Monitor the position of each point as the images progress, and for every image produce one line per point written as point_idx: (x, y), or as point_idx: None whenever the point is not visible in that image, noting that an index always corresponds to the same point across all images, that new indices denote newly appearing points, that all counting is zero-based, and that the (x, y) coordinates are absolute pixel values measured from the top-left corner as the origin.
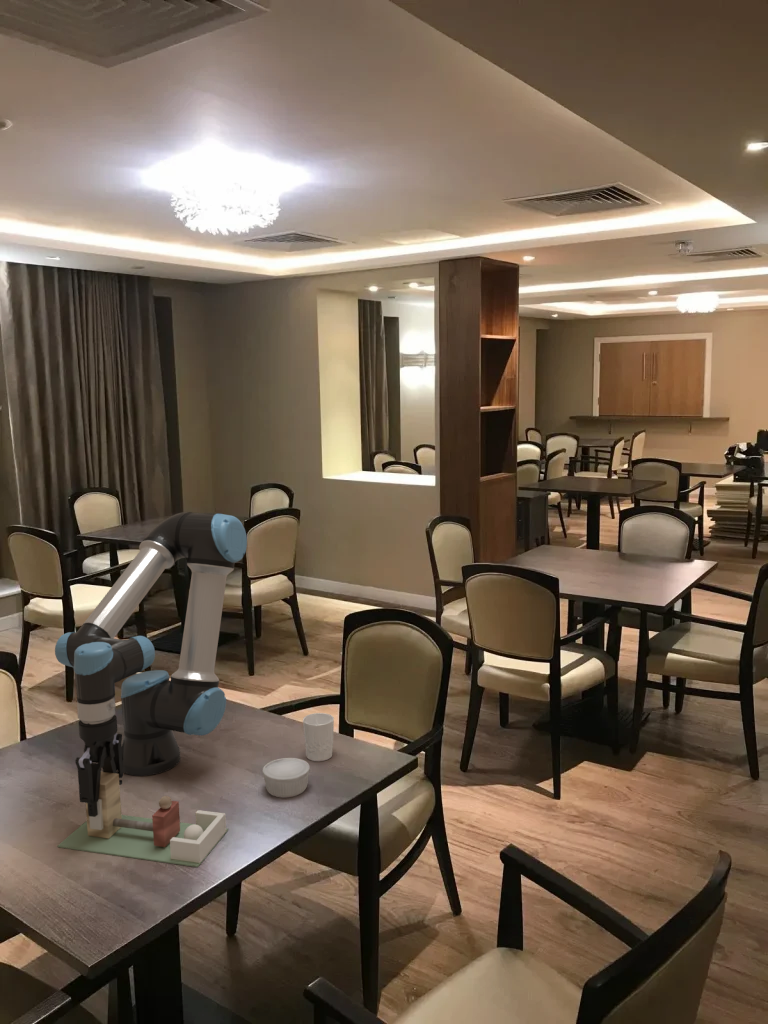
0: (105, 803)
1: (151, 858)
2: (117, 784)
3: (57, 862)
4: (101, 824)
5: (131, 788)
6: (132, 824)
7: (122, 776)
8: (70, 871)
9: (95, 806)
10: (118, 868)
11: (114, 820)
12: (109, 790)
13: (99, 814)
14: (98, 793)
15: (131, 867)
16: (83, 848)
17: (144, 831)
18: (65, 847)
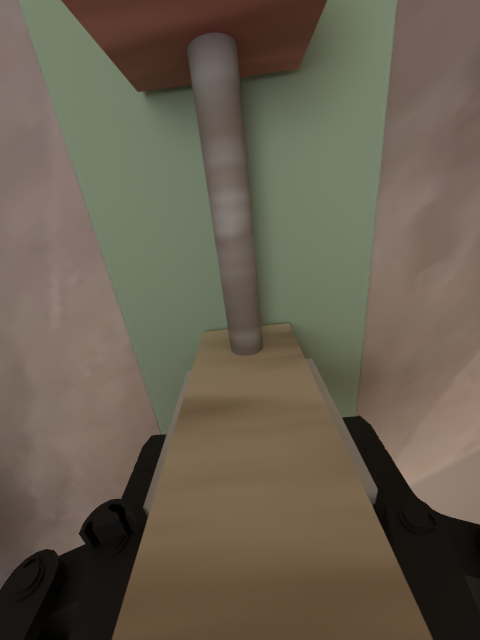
0: (340, 440)
1: (388, 12)
2: (174, 532)
3: (427, 381)
4: (316, 372)
5: (9, 442)
6: (251, 252)
7: (36, 560)
8: (477, 317)
9: (376, 467)
10: (460, 152)
11: (256, 348)
12: (316, 531)
13: (336, 411)
14: (411, 569)
15: (452, 90)
16: (356, 360)
17: (194, 228)
18: (356, 407)
